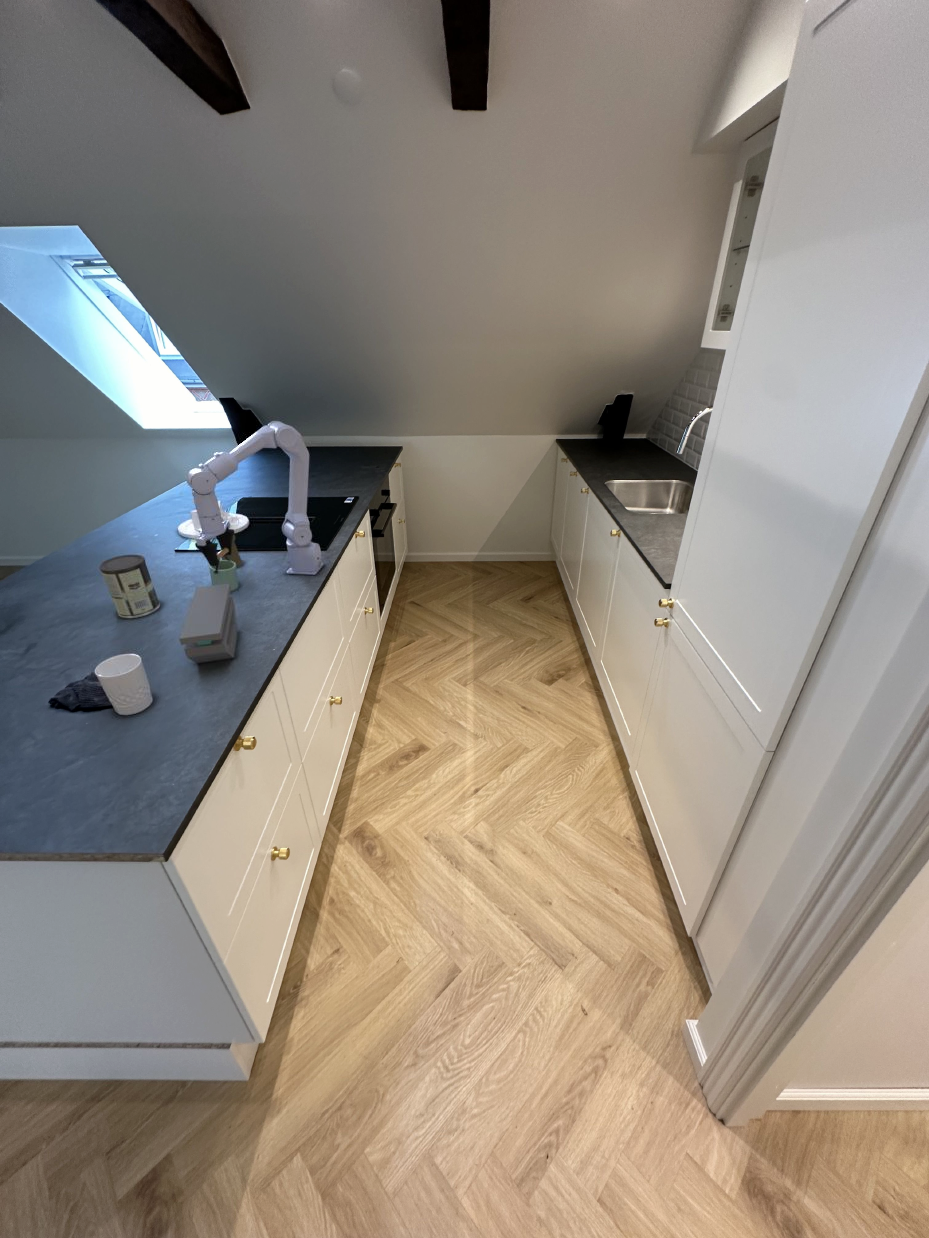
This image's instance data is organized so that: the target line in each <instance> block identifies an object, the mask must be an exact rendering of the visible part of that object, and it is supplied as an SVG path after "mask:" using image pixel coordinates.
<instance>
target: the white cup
mask: <svg viewBox="0 0 929 1238" xmlns="http://www.w3.org/2000/svg"><path fill="white" fill-rule="evenodd" d="M144 666H145V665H144V663H143V660H142V657H141V656H140V655H138V654H136V653H125V654H124V653H123V654H117V655H115V656H111V657H109V658H107V659H105V660H103V661H102V662H100V663H99V664H98V665H97V666H96V667H95V669H94V674H95V676H96V678H97V680H98V682H99V684H100V685H101V688H102V690H103V691H104V693H105V695H106V697H107V699H108V701H109V702H110V703H111V705H112V708H113V709H114V711H115V713H116V714H118V715H121V716H130V715H135V714H137V713H138V714H139V713H140V712H143V711H144V710H146V709H147V708H148V707H150V706H151V705H152V703H153V702H154V700H153V695H152V692H151V687H150V683H149V678H148V676H147V673H146V669H145V667H144Z"/></svg>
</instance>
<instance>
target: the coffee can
mask: <svg viewBox="0 0 929 1238" xmlns="http://www.w3.org/2000/svg"><path fill="white" fill-rule="evenodd" d="M98 569H99V571H100V572H101V574H102V577H103V579H104V582H105V585H106V587H107V589H108V591H109V592H108V593H109V595H110V596H111V600H112V602H113V605H114V607H115V610H116V612H117V615H118V616H119V617H120V618H123V619H137V618H141V617H146V616H148V615H151V614H152V613H155V612H156V611H158V610H159V608H160V607H161V602H160V601H159V598H158V595H157V593H156V589H155V587H154V583H153V581H152V578H151V574H150V571H149V569H148V566H147V563H146V558H145V557H144V556H143V555H142V554H141V555H140V554H123V555H118V556H114V557H111V558H108V559H106V560H105V561H102V562H101V563H99V565H98Z"/></svg>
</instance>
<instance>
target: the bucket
mask: <svg viewBox="0 0 929 1238" xmlns="http://www.w3.org/2000/svg"><path fill="white" fill-rule="evenodd" d="M227 552H229V550H228V549H227V548H224V549H223V550H222V551H221V550H220V551H219V552H217V557H218V566H210V564H209V565H208V567H209V573H210V580H211V581H210V582H211V585H220V584H229V583H230V585H231V592H233V591H235V590H237V589H238V588H239V586H240V585H239V580H238V570H237V568H236V563H235V562H233V561H231V560H230V559H229V558H228V557H227V556H226V553H227ZM222 556H224V557H225V558H226V559H227V560H222Z"/></svg>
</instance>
